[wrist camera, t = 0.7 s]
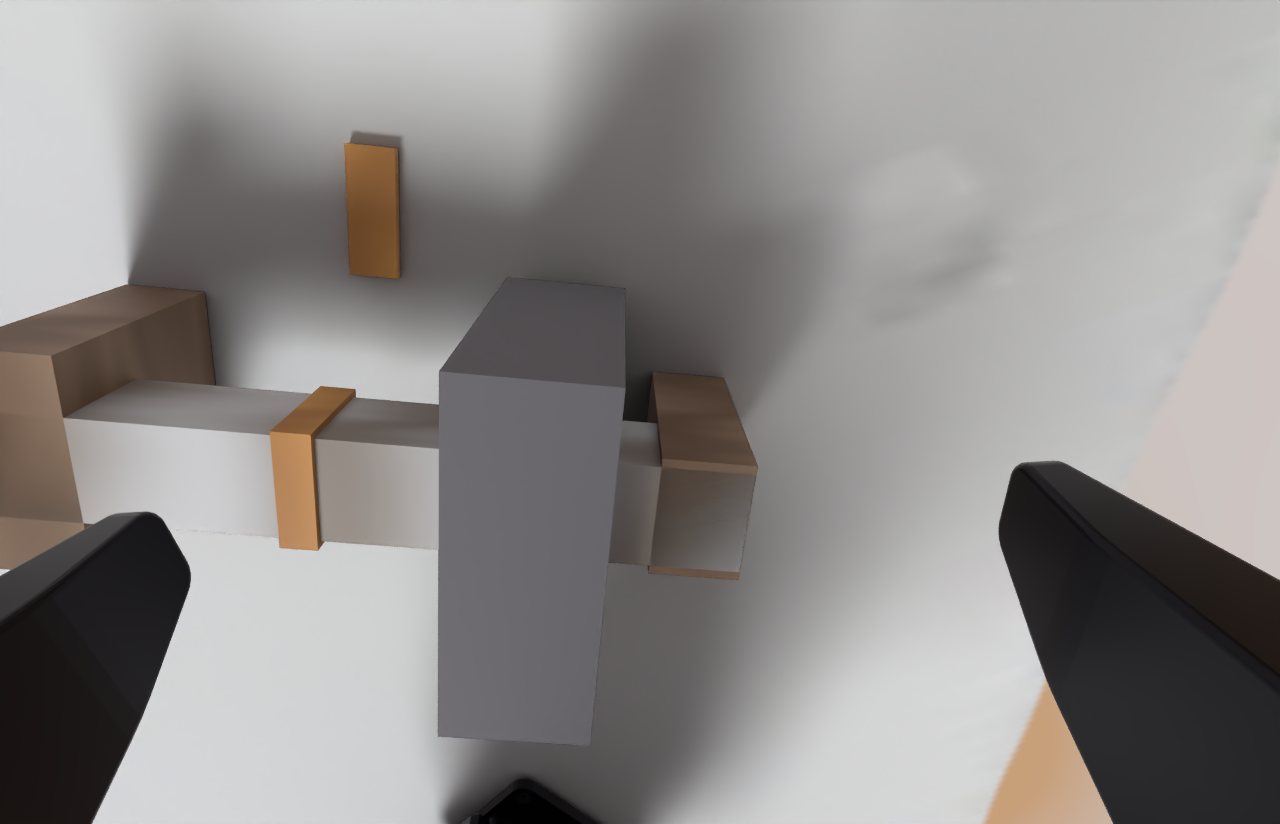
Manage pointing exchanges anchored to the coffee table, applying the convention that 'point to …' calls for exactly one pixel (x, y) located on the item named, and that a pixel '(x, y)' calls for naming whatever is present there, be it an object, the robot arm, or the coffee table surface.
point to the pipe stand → (308, 433)
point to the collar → (528, 510)
